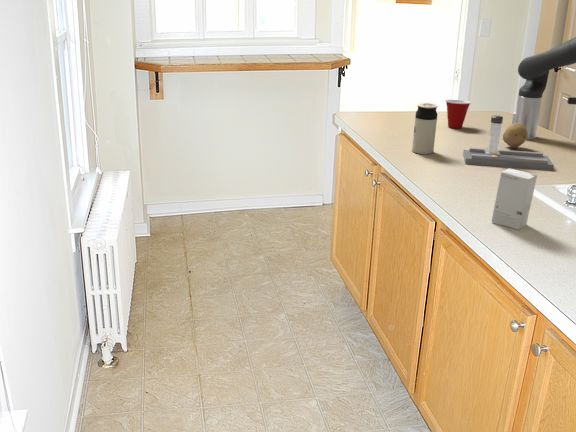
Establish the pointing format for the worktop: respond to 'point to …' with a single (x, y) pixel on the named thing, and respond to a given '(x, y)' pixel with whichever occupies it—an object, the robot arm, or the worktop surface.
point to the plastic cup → (456, 113)
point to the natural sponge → (515, 135)
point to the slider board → (508, 159)
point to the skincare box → (514, 198)
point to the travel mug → (425, 128)
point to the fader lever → (494, 136)
